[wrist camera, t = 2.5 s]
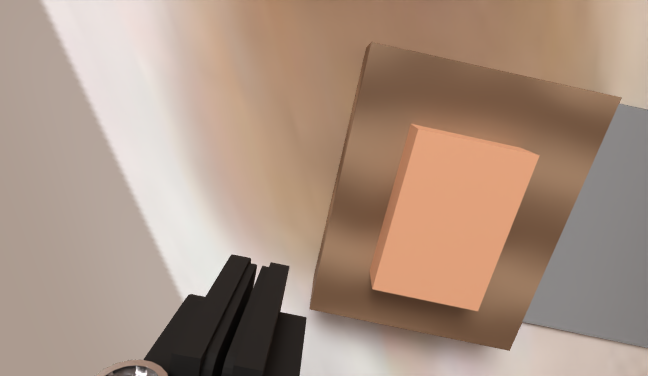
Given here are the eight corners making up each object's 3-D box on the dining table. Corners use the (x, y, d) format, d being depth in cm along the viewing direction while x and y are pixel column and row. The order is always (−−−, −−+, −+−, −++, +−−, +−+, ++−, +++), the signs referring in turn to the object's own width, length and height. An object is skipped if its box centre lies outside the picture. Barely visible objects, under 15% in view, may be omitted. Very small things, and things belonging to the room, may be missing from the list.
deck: (366, 47, 22) (371, 41, 18) (573, 93, 22) (621, 97, 19) (314, 275, 27) (309, 309, 23) (485, 311, 27) (509, 350, 23)
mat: (581, 95, 22) (584, 95, 22) (769, 137, 23) (774, 138, 22) (492, 313, 27) (493, 315, 27) (648, 345, 27) (651, 348, 27)
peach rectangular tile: (410, 123, 19) (418, 128, 18) (520, 147, 20) (539, 155, 18) (369, 270, 22) (372, 289, 20) (466, 291, 22) (477, 311, 20)
